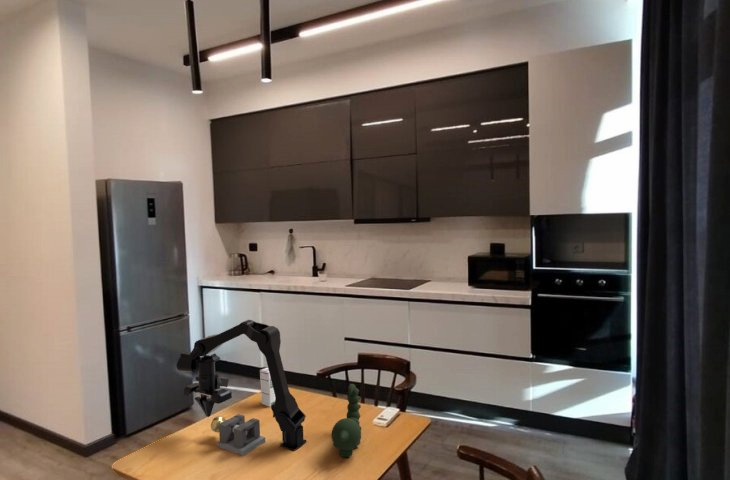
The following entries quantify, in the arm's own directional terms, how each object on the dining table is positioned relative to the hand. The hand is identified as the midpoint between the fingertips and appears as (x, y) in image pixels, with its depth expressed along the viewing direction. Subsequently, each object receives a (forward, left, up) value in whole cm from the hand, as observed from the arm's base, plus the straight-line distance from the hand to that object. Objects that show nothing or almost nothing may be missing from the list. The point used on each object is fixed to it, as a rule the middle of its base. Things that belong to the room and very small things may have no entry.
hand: (208, 416), depth 152 cm
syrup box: (-2, -30, -6) cm, 31 cm away
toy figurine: (-49, -16, -7) cm, 52 cm away
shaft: (-11, 0, -4) cm, 12 cm away
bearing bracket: (-16, 0, -6) cm, 17 cm away
